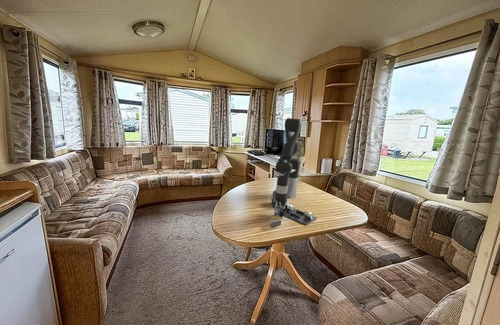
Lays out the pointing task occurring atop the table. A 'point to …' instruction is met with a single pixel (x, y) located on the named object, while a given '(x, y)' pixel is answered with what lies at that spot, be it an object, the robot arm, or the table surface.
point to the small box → (274, 195)
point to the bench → (299, 215)
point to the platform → (275, 220)
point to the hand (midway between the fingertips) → (278, 215)
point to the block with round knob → (277, 211)
